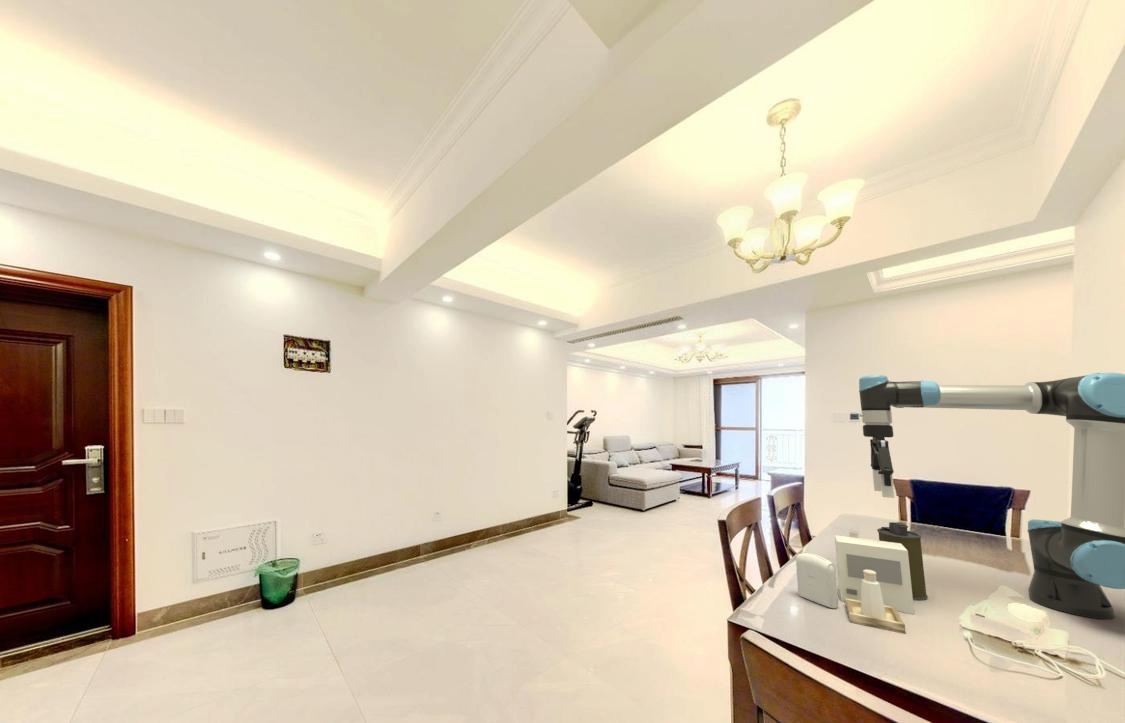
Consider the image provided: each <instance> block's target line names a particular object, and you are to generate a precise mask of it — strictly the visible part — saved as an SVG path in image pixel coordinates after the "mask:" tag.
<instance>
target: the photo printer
mask: <svg viewBox="0 0 1125 723" xmlns="http://www.w3.org/2000/svg"><path fill="white" fill-rule="evenodd" d="M795 562H796V565H795V566H796V576H797V577H796V579H797V592H798V596H800V597H802V598H805V599H807V600H808V601H811V602H814V603H816V604H819V605H822V606H823V607H828V608H830V609H837V608H838V606H839V596H838V585H837V574H836V572H837V571H836V567H835V564H834V563H833V562H831V561H830V560H828V559H826V558H825V557H822V556H820V555H818V554H814V553H807V552H806V553H805V552H804V553H799V554H797V556H796V561H795Z"/></svg>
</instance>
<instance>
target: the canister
mask: <svg viewBox="0 0 1125 723" xmlns="http://www.w3.org/2000/svg"><path fill="white" fill-rule="evenodd" d="M908 528H909V526H908V525H907V524H904V523H902V522H897V521H895V522H893V521H891V522H888V526H881V528H878V529H877V532H878V541H885V542H893V543H901V544H902V545H903V546H904V547H905V548H906V549H907V550H908V558H909V567H910V577H911V587H912V596H913V601H926V600H928V598H929V596H928V595H927V589H926V588H927V587H926V578H925V569H924V567H925V566H924V560H923V551H922V550H923V548H922V541H921V538H922V535H921V534H920V533H917V532H914V531H911V530H910V531H909V530H908Z"/></svg>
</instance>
